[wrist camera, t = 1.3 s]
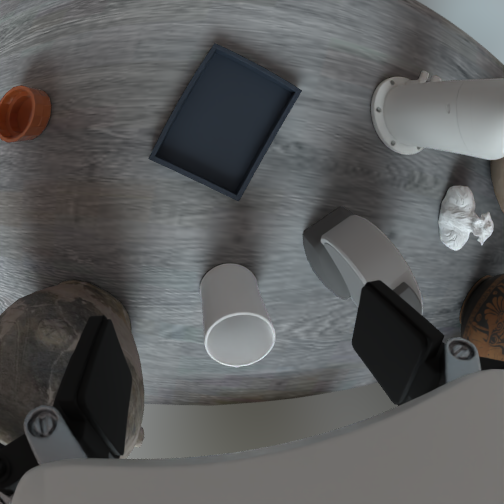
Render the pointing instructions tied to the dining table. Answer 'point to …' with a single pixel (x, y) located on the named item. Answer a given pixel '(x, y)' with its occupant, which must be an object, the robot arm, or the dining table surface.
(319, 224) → the alarm clock
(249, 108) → the tray
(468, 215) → the bust
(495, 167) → the bowl
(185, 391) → the dining table surface
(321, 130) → the dining table surface
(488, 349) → the vase
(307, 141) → the dining table surface
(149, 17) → the dining table surface
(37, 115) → the small bowl
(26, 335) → the clay pot
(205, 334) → the mug
